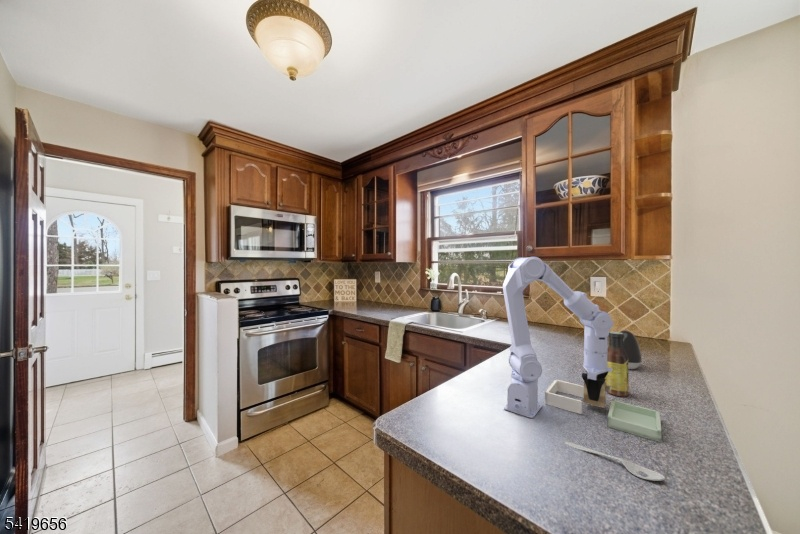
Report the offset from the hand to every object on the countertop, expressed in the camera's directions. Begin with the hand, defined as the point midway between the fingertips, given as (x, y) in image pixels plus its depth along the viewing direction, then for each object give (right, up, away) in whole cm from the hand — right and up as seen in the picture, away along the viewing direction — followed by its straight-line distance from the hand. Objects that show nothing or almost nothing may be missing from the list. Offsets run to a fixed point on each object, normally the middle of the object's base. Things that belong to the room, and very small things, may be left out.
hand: (594, 397), depth 85 cm
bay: (-5, -3, +4) cm, 8 cm away
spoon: (-13, -4, -22) cm, 26 cm away
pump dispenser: (+36, -4, +35) cm, 50 cm away
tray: (+5, -3, -8) cm, 10 cm away
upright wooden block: (0, -2, 0) cm, 2 cm away
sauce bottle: (+14, -4, +10) cm, 18 cm away
